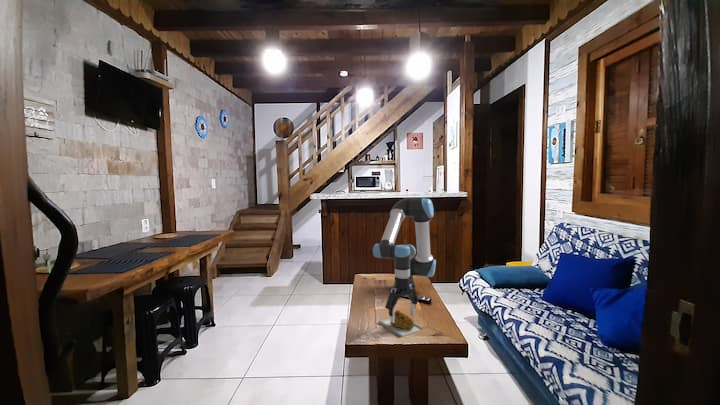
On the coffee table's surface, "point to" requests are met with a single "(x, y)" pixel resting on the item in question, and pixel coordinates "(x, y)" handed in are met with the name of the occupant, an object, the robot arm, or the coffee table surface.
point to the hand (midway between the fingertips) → (402, 318)
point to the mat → (399, 330)
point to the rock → (402, 321)
